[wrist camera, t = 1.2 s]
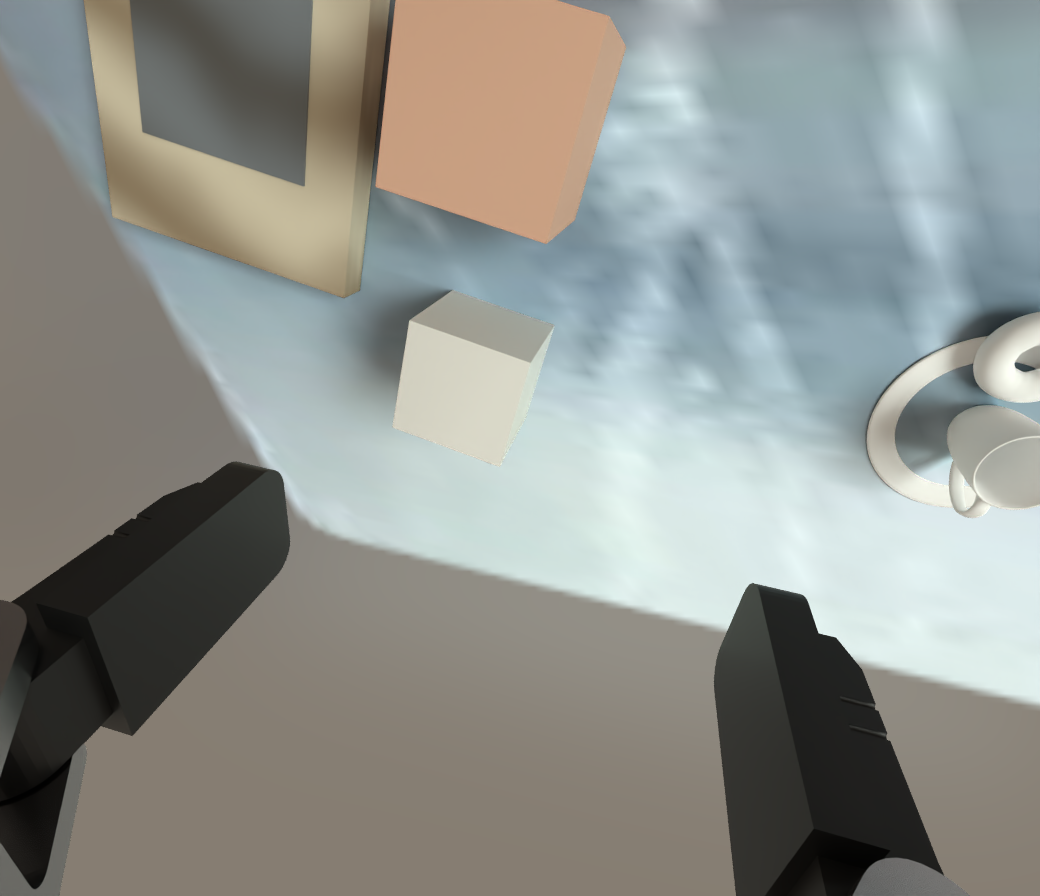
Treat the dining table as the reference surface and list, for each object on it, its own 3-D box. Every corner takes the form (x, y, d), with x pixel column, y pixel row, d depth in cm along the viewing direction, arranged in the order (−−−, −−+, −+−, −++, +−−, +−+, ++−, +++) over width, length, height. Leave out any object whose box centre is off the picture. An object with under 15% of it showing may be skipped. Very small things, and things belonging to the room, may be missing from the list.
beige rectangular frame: (86, -270, 19) (41, -300, 18) (408, -178, 18) (387, -204, 17) (138, 213, 27) (110, 217, 26) (359, 290, 27) (342, 298, 25)
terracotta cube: (469, -1, 20) (400, -47, 15) (626, 47, 20) (609, 16, 15) (440, 175, 23) (375, 186, 18) (574, 220, 23) (546, 243, 18)
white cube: (453, 289, 26) (409, 320, 21) (554, 324, 25) (530, 362, 21) (434, 383, 28) (392, 427, 24) (526, 416, 28) (499, 466, 24)
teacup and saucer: (1025, 271, 20) (1097, 298, 17) (1165, 403, 21) (1260, 455, 18) (822, 427, 25) (846, 474, 21) (945, 530, 26) (987, 591, 22)
